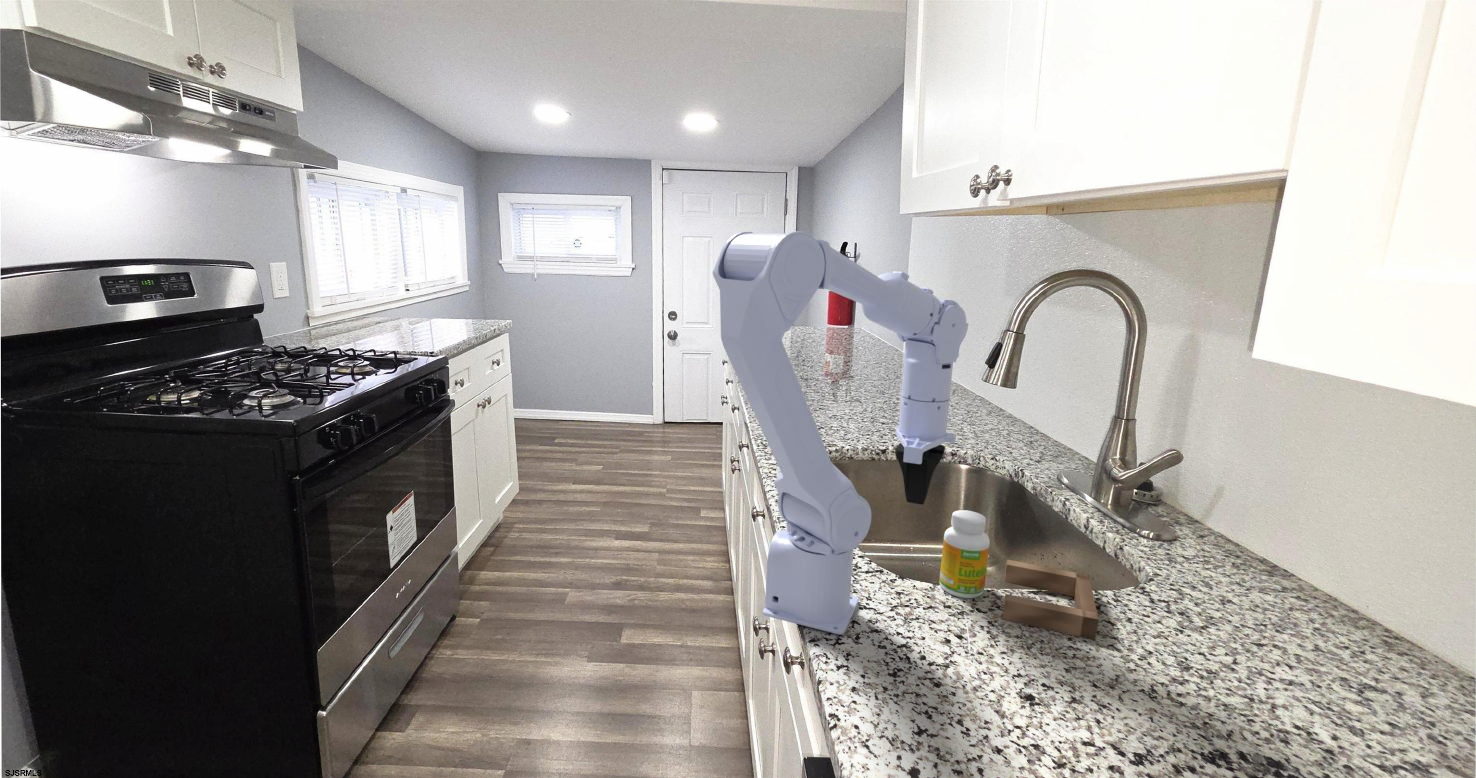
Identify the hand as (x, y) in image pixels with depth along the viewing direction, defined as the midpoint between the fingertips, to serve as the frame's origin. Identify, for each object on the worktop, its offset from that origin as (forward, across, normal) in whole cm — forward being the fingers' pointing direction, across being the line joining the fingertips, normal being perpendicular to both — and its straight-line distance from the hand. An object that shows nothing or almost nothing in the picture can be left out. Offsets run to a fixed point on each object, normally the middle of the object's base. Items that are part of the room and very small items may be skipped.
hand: (915, 501), depth 83 cm
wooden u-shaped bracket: (+10, 0, -16) cm, 19 cm away
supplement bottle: (+11, 0, -6) cm, 12 cm away
